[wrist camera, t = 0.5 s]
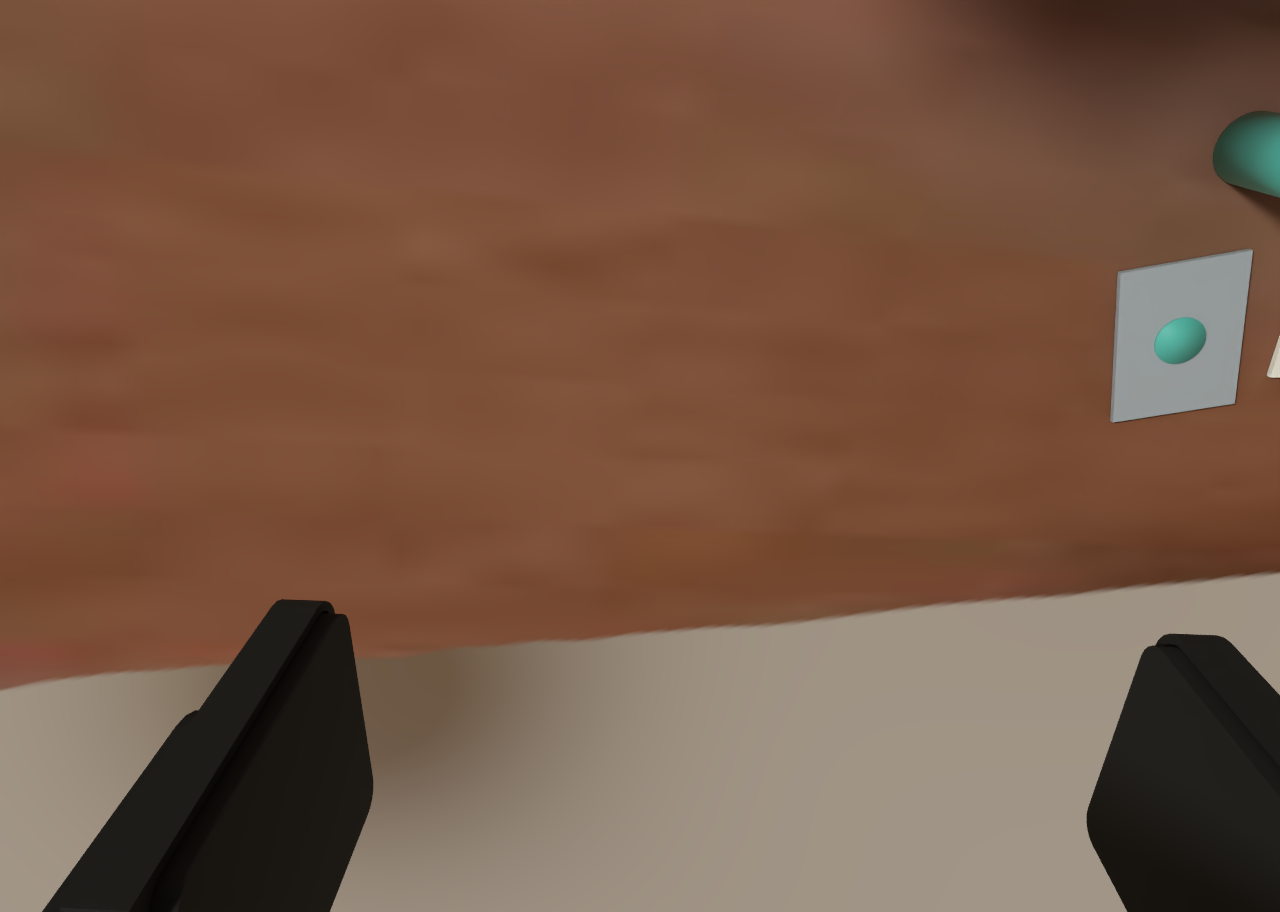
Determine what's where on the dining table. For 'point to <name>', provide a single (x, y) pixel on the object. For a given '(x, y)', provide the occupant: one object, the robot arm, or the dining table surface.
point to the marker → (1251, 153)
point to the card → (1179, 335)
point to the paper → (1275, 363)
